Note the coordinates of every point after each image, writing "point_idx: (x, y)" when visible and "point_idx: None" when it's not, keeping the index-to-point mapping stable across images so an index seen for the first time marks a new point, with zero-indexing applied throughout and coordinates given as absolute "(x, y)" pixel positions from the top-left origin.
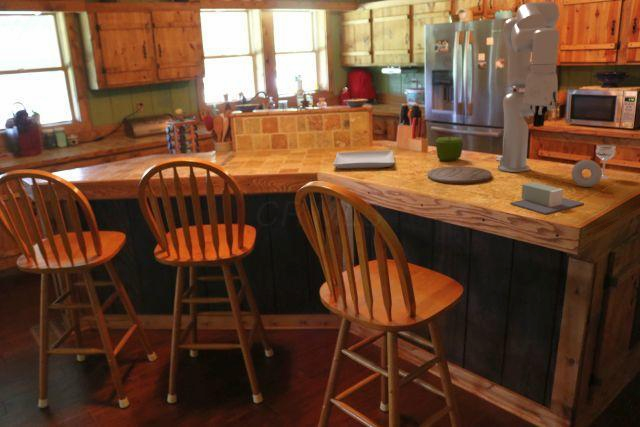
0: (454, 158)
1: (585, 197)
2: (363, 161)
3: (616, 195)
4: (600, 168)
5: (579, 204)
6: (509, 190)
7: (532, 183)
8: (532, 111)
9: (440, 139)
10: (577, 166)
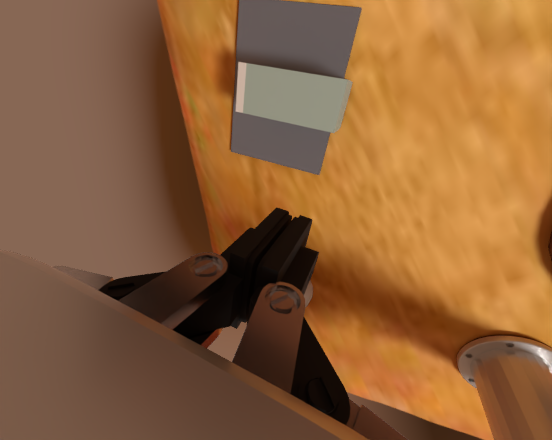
0: None
1: (255, 202)
2: None
3: (229, 242)
4: None
5: (232, 137)
6: (429, 158)
7: (327, 115)
8: (300, 315)
9: None
10: None
